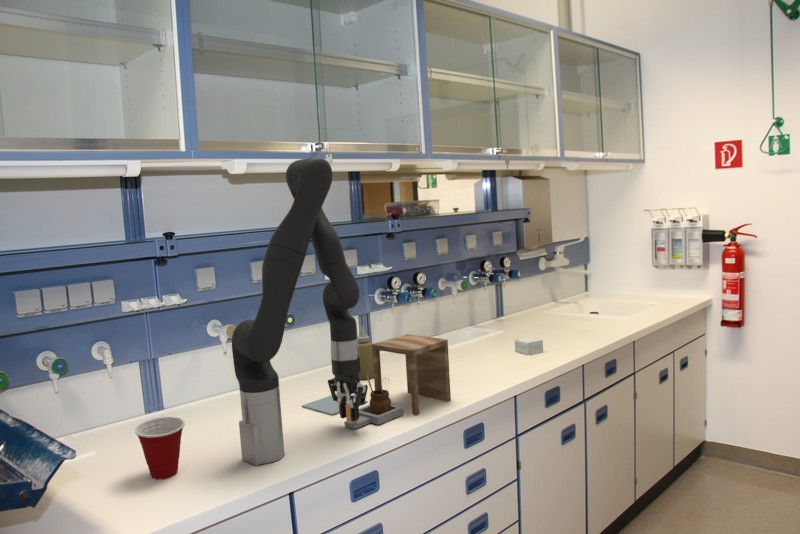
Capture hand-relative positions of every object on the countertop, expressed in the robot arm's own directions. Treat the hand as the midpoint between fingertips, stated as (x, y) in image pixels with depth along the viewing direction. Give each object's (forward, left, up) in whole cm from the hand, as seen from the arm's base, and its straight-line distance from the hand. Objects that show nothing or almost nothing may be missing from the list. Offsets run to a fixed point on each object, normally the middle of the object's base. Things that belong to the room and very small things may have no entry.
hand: (349, 418), depth 166 cm
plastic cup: (-45, +14, -3) cm, 47 cm away
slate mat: (+11, +19, -3) cm, 22 cm away
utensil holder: (+11, 0, -3) cm, 12 cm away
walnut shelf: (+25, 0, -3) cm, 25 cm away
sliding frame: (+8, 0, -2) cm, 8 cm away
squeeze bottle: (+37, +33, -3) cm, 50 cm away
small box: (+95, +3, -3) cm, 95 cm away
